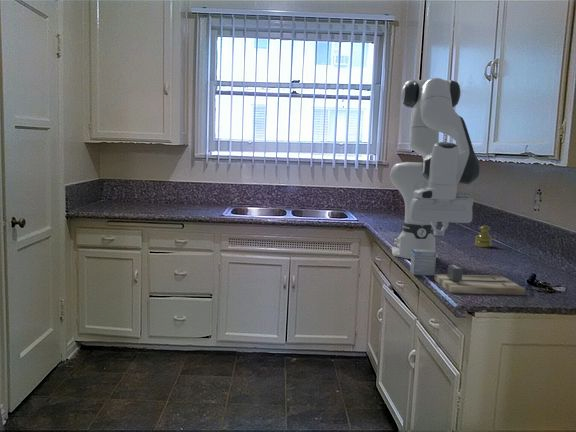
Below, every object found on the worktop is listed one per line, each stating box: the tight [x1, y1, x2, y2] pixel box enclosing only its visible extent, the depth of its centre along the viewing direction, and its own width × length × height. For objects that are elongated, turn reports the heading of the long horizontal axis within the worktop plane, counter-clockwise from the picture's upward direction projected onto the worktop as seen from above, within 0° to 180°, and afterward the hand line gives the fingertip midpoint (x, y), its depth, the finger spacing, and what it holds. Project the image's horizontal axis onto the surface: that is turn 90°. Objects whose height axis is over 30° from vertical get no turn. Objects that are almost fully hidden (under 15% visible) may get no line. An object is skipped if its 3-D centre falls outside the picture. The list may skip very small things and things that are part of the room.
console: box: [433, 273, 526, 296], centre depth 170 cm, size 16×24×2 cm, turn 92°
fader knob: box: [446, 264, 463, 281], centre depth 169 cm, size 5×3×4 cm, turn 2°
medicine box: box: [409, 249, 438, 277], centre depth 184 cm, size 8×4×9 cm, turn 92°
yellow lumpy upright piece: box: [474, 224, 493, 248], centre depth 243 cm, size 7×7×10 cm
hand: (438, 235), depth 167 cm, fingers closed
